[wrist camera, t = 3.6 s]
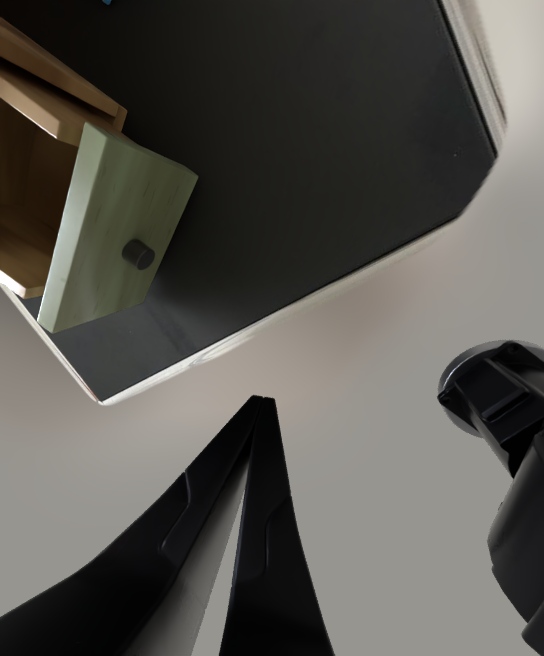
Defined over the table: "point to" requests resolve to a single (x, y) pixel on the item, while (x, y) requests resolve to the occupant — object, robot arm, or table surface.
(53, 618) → the robot arm
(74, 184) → the drawer
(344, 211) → the table surface
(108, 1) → the ink box
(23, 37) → the cabinet
